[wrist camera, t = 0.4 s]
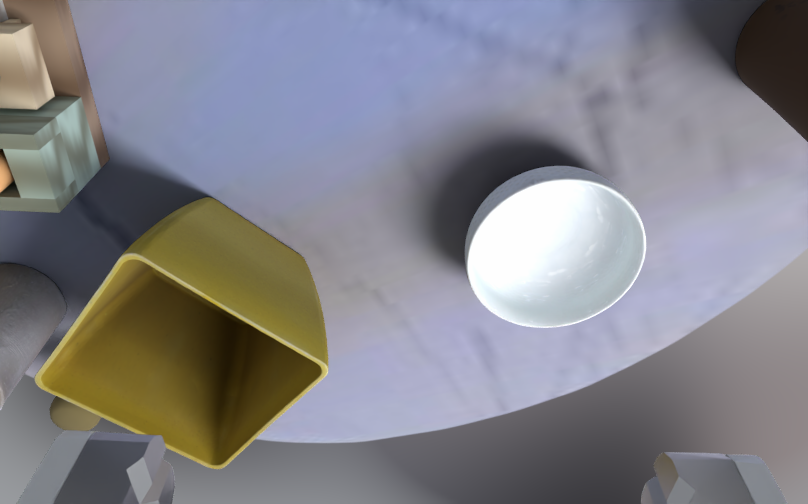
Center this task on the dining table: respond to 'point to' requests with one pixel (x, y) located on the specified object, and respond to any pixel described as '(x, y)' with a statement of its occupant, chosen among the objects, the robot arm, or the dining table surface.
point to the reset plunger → (4, 172)
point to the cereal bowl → (554, 247)
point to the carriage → (22, 67)
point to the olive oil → (778, 59)
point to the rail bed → (51, 118)
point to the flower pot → (196, 336)
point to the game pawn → (72, 416)
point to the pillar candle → (25, 320)
